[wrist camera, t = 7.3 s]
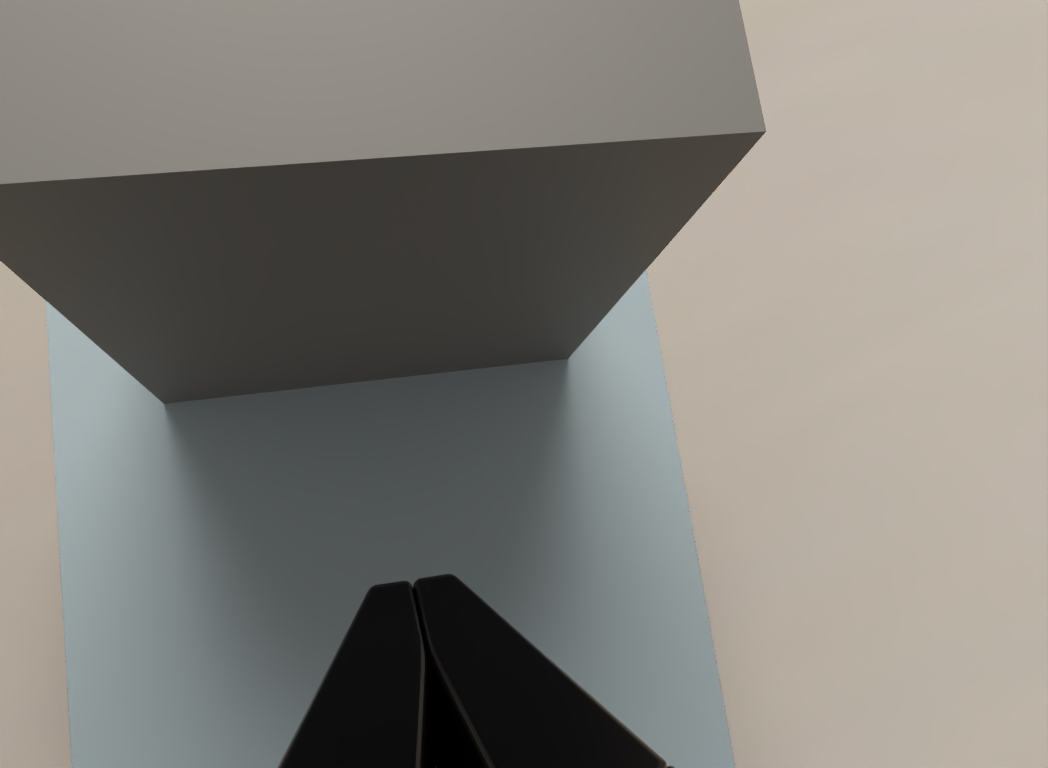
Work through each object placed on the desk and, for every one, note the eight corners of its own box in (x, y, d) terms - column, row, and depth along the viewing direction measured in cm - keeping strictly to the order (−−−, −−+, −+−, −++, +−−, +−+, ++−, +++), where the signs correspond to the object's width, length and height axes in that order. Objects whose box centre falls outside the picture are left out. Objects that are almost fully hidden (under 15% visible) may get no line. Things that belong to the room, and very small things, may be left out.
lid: (747, 938, 14) (1258, 1417, 6) (109, 1088, 12) (-382, 2028, 4) (625, 240, 16) (883, -109, 8) (61, 291, 14) (-335, -86, 6)
